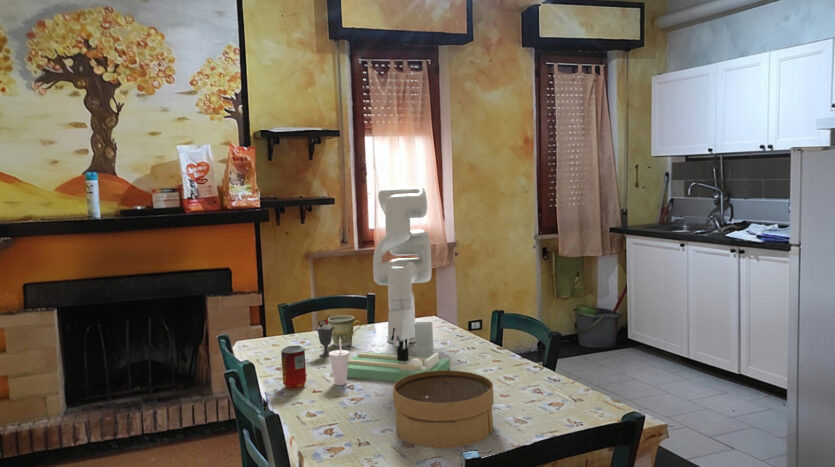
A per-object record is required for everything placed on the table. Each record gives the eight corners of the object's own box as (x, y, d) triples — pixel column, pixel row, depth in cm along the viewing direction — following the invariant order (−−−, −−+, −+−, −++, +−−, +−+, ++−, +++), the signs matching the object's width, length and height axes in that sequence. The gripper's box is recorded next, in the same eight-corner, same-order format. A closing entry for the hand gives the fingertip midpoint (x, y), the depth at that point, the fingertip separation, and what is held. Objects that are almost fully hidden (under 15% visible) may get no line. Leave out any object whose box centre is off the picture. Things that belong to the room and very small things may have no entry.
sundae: (334, 357, 227) (332, 316, 225) (315, 358, 227) (313, 316, 226) (337, 352, 233) (335, 312, 232) (318, 353, 233) (316, 312, 232)
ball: (406, 359, 207) (422, 358, 207) (408, 375, 206) (423, 373, 206) (407, 358, 202) (422, 356, 202) (408, 374, 201) (424, 373, 201)
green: (363, 360, 222) (362, 343, 221) (449, 367, 209) (449, 349, 209) (336, 376, 205) (335, 357, 205) (428, 385, 193) (428, 365, 192)
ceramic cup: (325, 346, 242) (323, 320, 241) (336, 340, 252) (334, 315, 251) (357, 348, 238) (355, 321, 238) (366, 341, 248) (365, 315, 247)
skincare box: (434, 354, 225) (432, 321, 224) (433, 358, 221) (431, 324, 220) (417, 355, 226) (415, 321, 225) (415, 358, 222) (414, 324, 221)
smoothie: (347, 386, 194) (345, 341, 193) (327, 386, 195) (324, 341, 194) (353, 380, 200) (351, 336, 199) (334, 379, 202) (331, 336, 200)
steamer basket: (487, 406, 173) (485, 366, 172) (502, 447, 148) (500, 399, 147) (395, 412, 172) (393, 371, 171) (395, 453, 147) (392, 406, 146)
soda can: (311, 384, 198) (309, 345, 196) (296, 391, 192) (293, 351, 190) (294, 381, 201) (291, 343, 200) (278, 388, 195) (275, 349, 194)
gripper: (399, 299, 212) (402, 353, 214) (379, 308, 199) (382, 366, 200) (420, 300, 209) (422, 355, 211) (401, 309, 196) (404, 368, 197)
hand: (403, 360), depth 205 cm, fingers closed
